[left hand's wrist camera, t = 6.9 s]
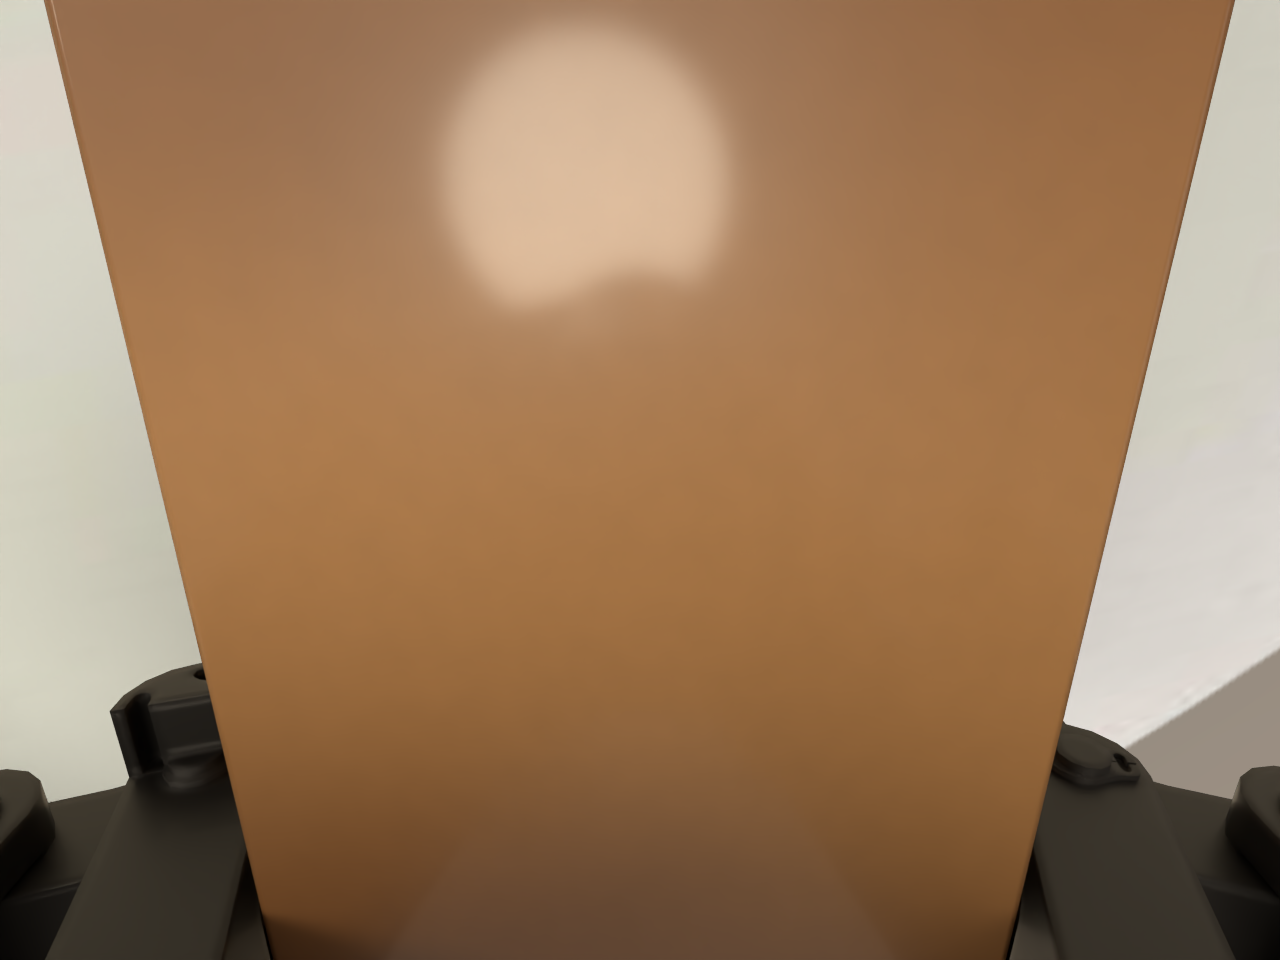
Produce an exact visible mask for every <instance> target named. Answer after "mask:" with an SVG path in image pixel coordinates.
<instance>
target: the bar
mask: <svg viewBox="0 0 1280 960" xmlns="http://www.w3.org/2000/svg"><path fill="white" fill-rule="evenodd" d="M1234 2H1235V0H44V3H45V7H46V11H47V15H48V19H49V24H50V28H51V32H52V36H53V40H54V45H55V49H56V53H57V57H58V61H59V65H60V70H61V74H62V78H63V82H64V86H65V91H66V95H67V99H68V103H69V107H70V112H71V116H72V120H73V124H74V128H75V132H76V137H77V141H78V145H79V149H80V153H81V158H82V162H83V166H84V170H85V174H86V178H87V183H88V187H89V191H90V195H91V199H92V204H93V208H94V212H95V216H96V220H97V225H98V229H99V233H100V237H101V241H102V245H103V250H104V254H105V258H106V262H107V266H108V271H109V275H110V279H111V283H112V287H113V292H114V296H115V300H116V304H117V308H118V312H119V317H120V321H121V325H122V329H123V333H124V338H125V342H126V346H127V350H128V354H129V358H130V363H131V367H132V371H133V375H134V379H135V384H136V388H137V392H138V396H139V400H140V405H141V409H142V413H143V417H144V421H145V425H146V430H147V434H148V438H149V442H150V446H151V451H152V455H153V459H154V463H155V467H156V472H157V476H158V480H159V484H160V488H161V492H162V497H163V501H164V505H165V509H166V513H167V518H168V522H169V526H170V530H171V534H172V539H173V543H174V547H175V551H176V555H177V559H178V564H179V568H180V572H181V576H182V580H183V585H184V589H185V593H186V597H187V601H188V605H189V610H190V614H191V618H192V622H193V626H194V631H195V635H196V639H197V643H198V647H199V652H200V656H201V660H202V664H203V668H204V672H205V677H206V681H207V685H208V689H209V693H210V698H211V702H212V706H213V710H214V714H215V719H216V723H217V727H218V731H219V735H220V739H221V744H222V748H223V752H224V756H225V760H226V765H227V769H228V773H229V777H230V781H231V786H232V790H233V794H234V798H235V802H236V806H237V811H238V815H239V819H240V823H241V827H242V832H243V836H244V840H245V844H246V848H247V852H248V857H249V861H250V865H251V869H252V873H253V878H254V882H255V886H256V890H257V894H258V899H259V903H260V907H261V911H262V915H263V919H264V924H265V928H266V932H267V936H268V940H269V945H270V949H271V953H272V957H273V960H1006V957H1007V953H1008V949H1009V945H1010V940H1011V936H1012V932H1013V928H1014V924H1015V919H1016V915H1017V911H1018V907H1019V903H1020V898H1021V894H1022V890H1023V886H1024V882H1025V878H1026V873H1027V869H1028V865H1029V861H1030V857H1031V852H1032V848H1033V844H1034V840H1035V836H1036V831H1037V827H1038V823H1039V819H1040V815H1041V811H1042V806H1043V802H1044V798H1045V794H1046V790H1047V785H1048V781H1049V777H1050V773H1051V769H1052V764H1053V760H1054V756H1055V752H1056V748H1057V744H1058V739H1059V735H1060V731H1061V727H1062V723H1063V718H1064V714H1065V710H1066V706H1067V702H1068V697H1069V693H1070V689H1071V685H1072V681H1073V677H1074V672H1075V668H1076V664H1077V660H1078V656H1079V651H1080V647H1081V643H1082V639H1083V635H1084V630H1085V626H1086V622H1087V618H1088V614H1089V610H1090V605H1091V601H1092V597H1093V593H1094V589H1095V584H1096V580H1097V576H1098V572H1099V568H1100V563H1101V559H1102V555H1103V551H1104V547H1105V543H1106V538H1107V534H1108V530H1109V526H1110V522H1111V517H1112V513H1113V509H1114V505H1115V501H1116V496H1117V492H1118V488H1119V484H1120V480H1121V476H1122V471H1123V467H1124V463H1125V459H1126V455H1127V450H1128V446H1129V442H1130V438H1131V434H1132V429H1133V425H1134V421H1135V417H1136V413H1137V409H1138V404H1139V400H1140V396H1141V392H1142V388H1143V383H1144V379H1145V375H1146V371H1147V367H1148V362H1149V358H1150V354H1151V350H1152V346H1153V342H1154V337H1155V333H1156V329H1157V325H1158V321H1159V316H1160V312H1161V308H1162V304H1163V300H1164V295H1165V291H1166V287H1167V283H1168V279H1169V275H1170V270H1171V266H1172V262H1173V258H1174V254H1175V249H1176V245H1177V241H1178V237H1179V233H1180V228H1181V224H1182V220H1183V216H1184V212H1185V208H1186V203H1187V199H1188V195H1189V191H1190V187H1191V182H1192V178H1193V174H1194V170H1195V166H1196V161H1197V157H1198V153H1199V149H1200V145H1201V141H1202V136H1203V132H1204V128H1205V124H1206V120H1207V115H1208V111H1209V107H1210V103H1211V99H1212V94H1213V90H1214V86H1215V82H1216V78H1217V74H1218V69H1219V65H1220V61H1221V57H1222V53H1223V48H1224V44H1225V40H1226V36H1227V32H1228V27H1229V23H1230V19H1231V15H1232V11H1233V7H1234Z"/></svg>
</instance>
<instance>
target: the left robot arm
mask: <svg viewBox="0 0 1280 960" xmlns="http://www.w3.org/2000/svg"><path fill="white" fill-rule="evenodd" d="M110 714H111V717H112V721H113V724H114V727H115V731H116V734H117V737H118V741H119V744H120V748H121V751H122V754H123V758H124V761H125V764H126V768H127V771H128V774H129V779H128V781H127V784H126V785H125V786H121V787H118V788H114V789H110V790H105V791H101V792H96V793H91V794H87V795H82V796H78V797H73V798H68V799H64V800H59V801H54V802H50V803H48V801H47V798H46V795H45V793H44V790H43V787H42V784H41V781H40V780H39V779H38V778H36V777H35V776H34V775H32V774H31V773H30V772H28V771H18V770H9V769H5V770H0V960H273V957H272V953H271V949H270V945H269V940H268V936H267V932H266V928H265V924H264V919H263V915H262V911H261V907H260V903H259V899H258V894H257V890H256V886H255V882H254V878H253V873H252V869H251V865H250V861H249V857H248V852H247V848H246V844H245V840H244V836H243V832H242V827H241V823H240V819H239V815H238V811H237V806H236V802H235V798H234V794H233V790H232V786H231V781H230V777H229V773H228V769H227V765H226V760H225V756H224V752H223V748H222V744H221V739H220V735H219V731H218V727H217V723H216V719H215V714H214V710H213V706H212V702H211V698H210V693H209V689H208V685H207V681H206V677H205V672H204V668H203V664H202V663H199V664H195V665H191V666H187V667H183V668H178V669H174V670H171V671H169V672H166V673H164V674H161V675H159V676H157V677H154V678H152V679H149V680H147V681H145V682H144V683H142V684H140V685H139V686H137V687H136V688H134V689H133V690H131V691H130V692H128V693H127V694H125V695H124V696H123V697H122V698H121V699H120V700H119V701H118V702H117V704H116V705H115V706H114V707H113V708H112V709H111V710H110ZM1006 960H1280V767H1278V766H1267V767H1258V768H1252V769H1250V770H1249V771H1248V772H1246V773H1245V774H1244V775H1242V776H1241V777H1240V779H1239V782H1238V785H1237V788H1236V791H1235V793H1234V796H1233V799H1227V798H1222V797H1218V796H1213V795H1208V794H1204V793H1199V792H1195V791H1190V790H1185V789H1180V788H1176V787H1171V786H1167V785H1163V784H1160V783H1156V782H1153V780H1152V778H1151V776H1150V775H1149V773H1148V772H1147V771H1146V769H1145V768H1144V767H1143V765H1142V764H1141V763H1140V761H1139V760H1138V759H1137V758H1136V757H1134V756H1133V755H1132V754H1130V753H1129V752H1128V751H1126V750H1125V749H1124V748H1122V747H1121V746H1120V745H1118V744H1117V743H1115V742H1113V741H1111V740H1109V739H1107V738H1105V737H1103V736H1100V735H1098V734H1096V733H1094V732H1092V731H1089V730H1085V729H1081V728H1078V727H1074V726H1070V725H1067V724H1065V723H1064V721H1063V723H1062V727H1061V731H1060V735H1059V739H1058V744H1057V748H1056V752H1055V756H1054V760H1053V764H1052V769H1051V773H1050V777H1049V781H1048V785H1047V790H1046V794H1045V798H1044V802H1043V806H1042V811H1041V815H1040V819H1039V823H1038V827H1037V831H1036V836H1035V840H1034V844H1033V848H1032V852H1031V857H1030V861H1029V865H1028V869H1027V873H1026V878H1025V882H1024V886H1023V890H1022V894H1021V898H1020V903H1019V907H1018V911H1017V915H1016V919H1015V924H1014V928H1013V932H1012V936H1011V940H1010V945H1009V949H1008V953H1007V957H1006Z"/></svg>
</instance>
